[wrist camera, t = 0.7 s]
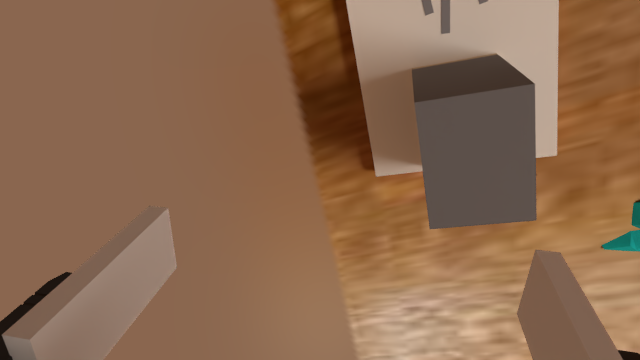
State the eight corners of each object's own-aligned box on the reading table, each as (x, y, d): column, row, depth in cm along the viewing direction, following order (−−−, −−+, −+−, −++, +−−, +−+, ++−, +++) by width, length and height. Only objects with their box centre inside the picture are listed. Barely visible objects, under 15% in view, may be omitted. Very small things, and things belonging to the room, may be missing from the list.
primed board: (326, -125, 29) (323, -129, 27) (554, -194, 25) (560, -201, 24) (376, 170, 37) (375, 176, 36) (552, 149, 34) (557, 155, 32)
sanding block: (411, 68, 32) (414, 102, 23) (496, 53, 30) (534, 83, 21) (423, 165, 35) (429, 229, 26) (501, 156, 33) (536, 220, 24)
